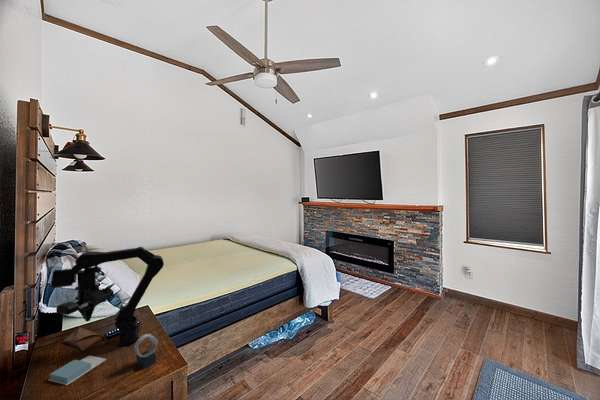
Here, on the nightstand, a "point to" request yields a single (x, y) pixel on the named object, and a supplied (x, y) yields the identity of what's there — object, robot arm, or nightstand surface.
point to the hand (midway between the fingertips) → (87, 320)
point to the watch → (146, 352)
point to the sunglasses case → (83, 339)
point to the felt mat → (89, 359)
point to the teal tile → (70, 371)
